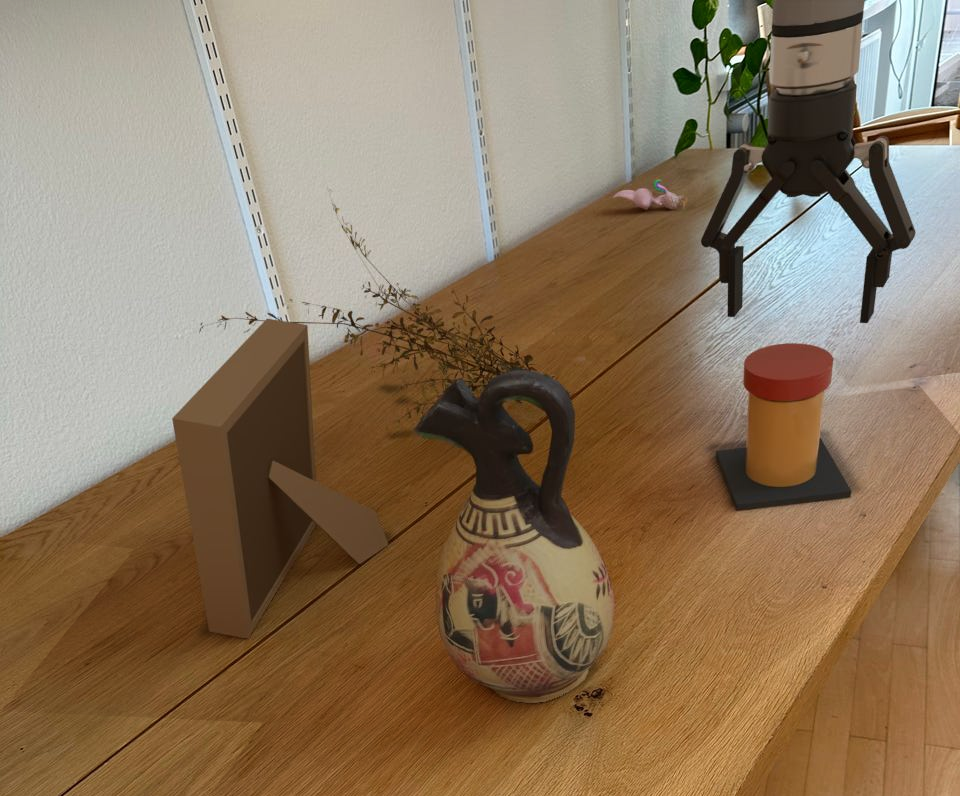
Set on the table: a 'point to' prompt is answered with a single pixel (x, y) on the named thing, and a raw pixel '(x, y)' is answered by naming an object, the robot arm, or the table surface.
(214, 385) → the photo frame
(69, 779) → the table surface
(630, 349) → the table surface
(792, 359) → the lid
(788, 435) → the jar
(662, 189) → the pink toy figure
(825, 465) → the mat
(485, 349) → the dried plant
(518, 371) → the ceramic jug
